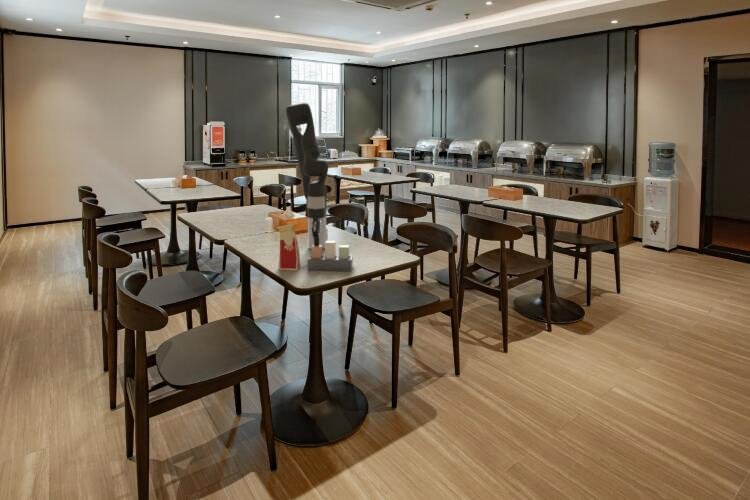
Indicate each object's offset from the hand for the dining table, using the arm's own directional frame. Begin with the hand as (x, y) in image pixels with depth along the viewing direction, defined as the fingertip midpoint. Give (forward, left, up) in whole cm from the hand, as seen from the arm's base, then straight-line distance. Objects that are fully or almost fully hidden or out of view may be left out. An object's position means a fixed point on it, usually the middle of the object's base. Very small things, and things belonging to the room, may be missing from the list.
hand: (316, 245), depth 223 cm
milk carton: (+8, -10, -10) cm, 16 cm away
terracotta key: (0, 0, -7) cm, 7 cm away
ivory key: (-3, +5, -5) cm, 8 cm away
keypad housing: (-3, +5, -10) cm, 12 cm away
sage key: (-7, +10, -7) cm, 14 cm away
